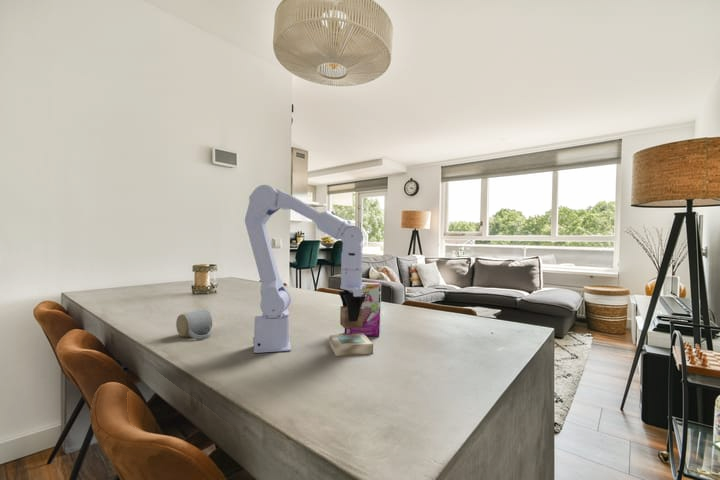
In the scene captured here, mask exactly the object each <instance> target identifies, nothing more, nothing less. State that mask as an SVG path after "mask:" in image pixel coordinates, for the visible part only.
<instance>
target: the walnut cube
mask: <svg viewBox="0 0 720 480" xmlns="http://www.w3.org/2000/svg"><path fill="white" fill-rule="evenodd" d="M339 310H340V313H339V316H340V318H339V320H340V321H339V323H340V326H341V327H343V329H345V328H360V327H362V323H363V309H362V308H360V312H359V317H358V321H352V322H350V321H349V317H348V309H347V306H343V305H342V306H340V309H339Z"/></svg>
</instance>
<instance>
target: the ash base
mask: <svg viewBox="0 0 720 480" xmlns="http://www.w3.org/2000/svg"><path fill="white" fill-rule="evenodd" d="M329 346H330V348H331V350H332V351H333V352H334V353H333V354H334V355H335V357H337V356H338V357H340V356H353V355H369V354H374V343H373V342H372V341H371V340H370V339H369V338H368V336H365V335H364V334H347V335H345V334H333V335H329Z"/></svg>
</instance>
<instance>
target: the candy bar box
mask: <svg viewBox="0 0 720 480" xmlns="http://www.w3.org/2000/svg"><path fill="white" fill-rule="evenodd" d="M362 285H366V288H362V295H364V296H365V299H364V301H363V303H362V305H361V308H362V309H363V323H362V327H360V328H344V335H347V334H364V335H365V336H366V337H379V338H380V334H381V317H382V316H381V315H382V314H381V313H382V312H381V311H382V310H381V309H382V308H381V307H382V306H381V305H382V283H381V282H370V281H369V282H364V281H362Z"/></svg>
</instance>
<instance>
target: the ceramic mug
mask: <svg viewBox="0 0 720 480" xmlns="http://www.w3.org/2000/svg"><path fill="white" fill-rule="evenodd" d="M175 325H176V331H177V334H178V335H179V336H180V337H182V338H190V337H191V338H192V339H195V340H200V341H201V340H206V339H208V338H209V337H210V336H211V334H212V328H213V318H212V314H211V312H210V310H208V309H207V308H205V307H204V308H199V309H196V310H192V311H187V312H184V313H181V314H179V315H178V316H177V318H176V323H175Z"/></svg>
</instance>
